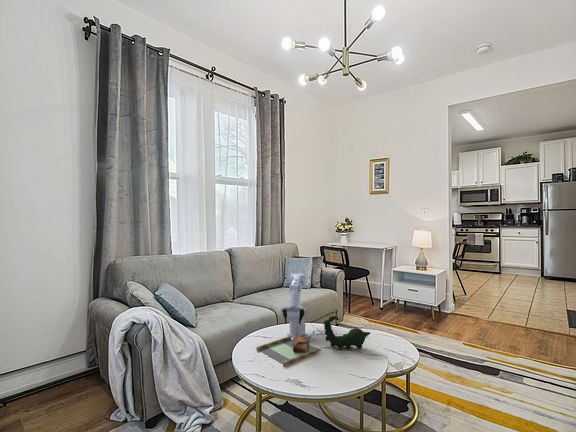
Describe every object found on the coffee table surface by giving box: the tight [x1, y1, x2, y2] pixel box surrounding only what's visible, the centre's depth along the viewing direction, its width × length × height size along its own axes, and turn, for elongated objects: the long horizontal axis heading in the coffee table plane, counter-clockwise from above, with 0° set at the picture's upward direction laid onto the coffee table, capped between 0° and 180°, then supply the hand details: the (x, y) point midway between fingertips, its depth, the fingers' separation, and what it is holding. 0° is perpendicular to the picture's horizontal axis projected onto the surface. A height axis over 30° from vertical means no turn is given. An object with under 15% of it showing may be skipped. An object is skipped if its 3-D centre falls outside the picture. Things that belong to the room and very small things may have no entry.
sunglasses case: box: [293, 334, 310, 353], centre depth 181 cm, size 18×7×7 cm
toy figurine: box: [323, 315, 371, 351], centre depth 179 cm, size 9×19×25 cm
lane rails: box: [256, 335, 320, 367], centre depth 175 cm, size 24×24×2 cm
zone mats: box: [258, 338, 322, 365], centre depth 176 cm, size 26×22×1 cm
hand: (292, 323), depth 179 cm, fingers open, 7 cm apart
